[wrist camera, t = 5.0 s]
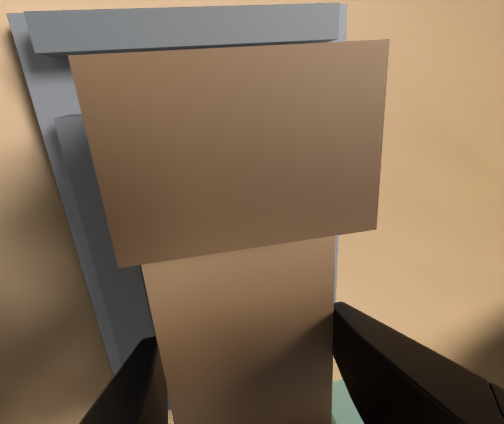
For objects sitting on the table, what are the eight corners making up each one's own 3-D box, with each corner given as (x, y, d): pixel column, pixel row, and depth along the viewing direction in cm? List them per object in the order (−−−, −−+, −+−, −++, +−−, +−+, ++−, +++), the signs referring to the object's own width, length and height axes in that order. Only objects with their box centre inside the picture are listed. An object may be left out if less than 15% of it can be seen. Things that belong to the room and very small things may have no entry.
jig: (21, 19, 11) (-23, 1, 8) (335, 9, 12) (369, -8, 10) (122, 379, 17) (113, 426, 14) (326, 337, 18) (346, 373, 16)
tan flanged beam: (135, 79, 9) (67, 55, 4) (278, 70, 9) (388, 39, 4) (193, 405, 13) (199, 605, 8) (289, 384, 14) (354, 556, 8)
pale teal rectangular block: (414, 357, 21) (464, 415, 17) (409, 401, 22) (454, 463, 19) (318, 383, 20) (349, 450, 16) (320, 427, 21) (349, 498, 18)
